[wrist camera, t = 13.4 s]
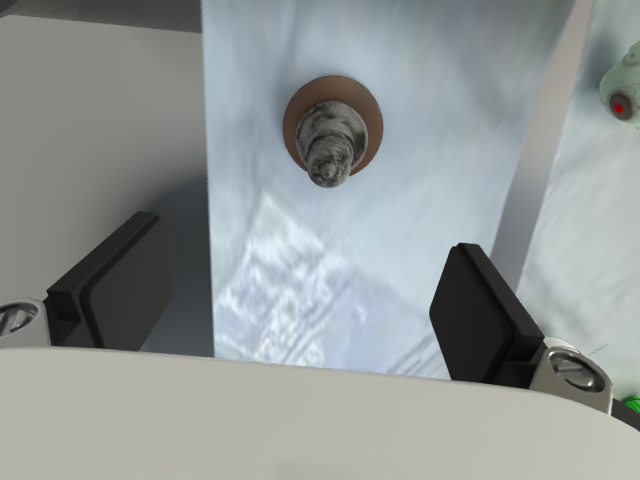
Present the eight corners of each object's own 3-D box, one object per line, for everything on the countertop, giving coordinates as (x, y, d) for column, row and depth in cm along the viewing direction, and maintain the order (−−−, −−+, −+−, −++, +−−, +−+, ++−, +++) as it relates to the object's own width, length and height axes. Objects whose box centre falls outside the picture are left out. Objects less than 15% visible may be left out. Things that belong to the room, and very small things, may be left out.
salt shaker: (287, 116, 29) (259, 153, 19) (348, 82, 28) (353, 104, 17) (318, 173, 32) (307, 234, 21) (375, 146, 30) (393, 197, 20)
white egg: (514, 371, 45) (543, 424, 39) (495, 337, 42) (522, 389, 36) (595, 344, 42) (641, 397, 35) (579, 305, 39) (626, 356, 32)
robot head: (638, 116, 28) (715, 134, 23) (586, 141, 30) (646, 164, 24) (624, 21, 25) (710, 13, 19) (566, 53, 26) (631, 54, 21)
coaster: (265, 141, 31) (264, 142, 31) (321, 51, 27) (320, 51, 27) (342, 194, 33) (342, 196, 33) (403, 118, 30) (404, 119, 29)
